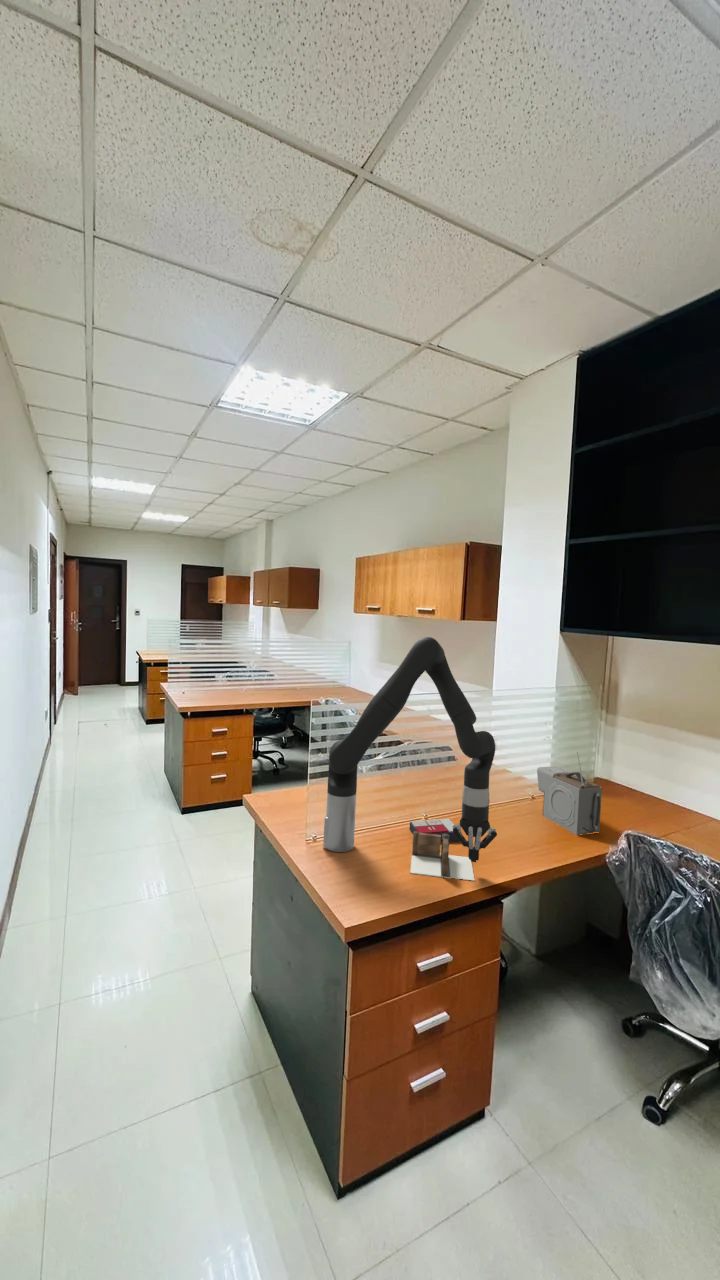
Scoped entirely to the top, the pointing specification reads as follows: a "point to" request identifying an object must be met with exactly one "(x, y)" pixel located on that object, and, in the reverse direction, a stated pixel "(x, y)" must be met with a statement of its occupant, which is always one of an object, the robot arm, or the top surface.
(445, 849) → the panel
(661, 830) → the top surface
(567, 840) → the top surface
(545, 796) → the portable television
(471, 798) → the robot arm
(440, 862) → the card
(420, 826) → the calculator
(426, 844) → the fence fixed section
